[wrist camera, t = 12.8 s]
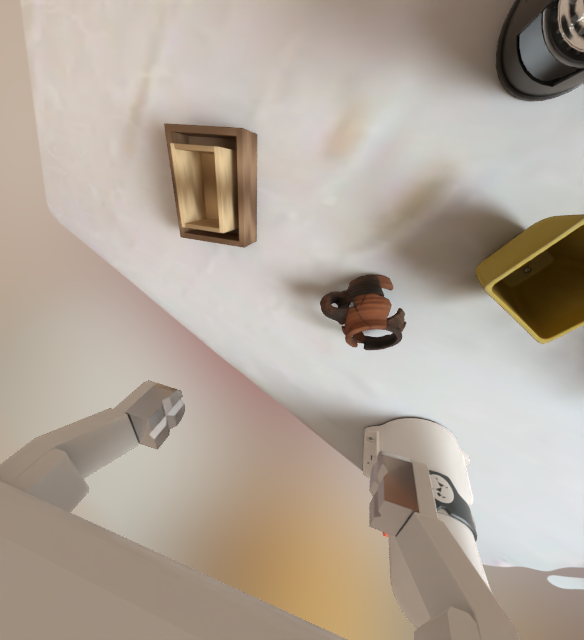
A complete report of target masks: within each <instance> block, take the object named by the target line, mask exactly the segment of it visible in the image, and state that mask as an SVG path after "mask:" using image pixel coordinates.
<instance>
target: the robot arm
mask: <svg viewBox="0 0 584 640" xmlns="http://www.w3.org/2000/svg"><path fill="white" fill-rule="evenodd" d="M182 397H183V395H182V392H181V390H177V389H174V388H171V387H168V386H164V385H162V384H159V383H156V382H152V381H149V380H148V381H146V382H144V383H143V384H141V385H140V386H139V387H138V388H137V389H136V390H135V391H133V392H132V393H131V394H130V395H129V396H128V397H127V398H126V399H124V400H123V401H122V402H121V403H120V404H119V405H117V406H116V407H115V408H114V409H111V408H109V409H107V410H104V411H102V412H99V413H97V414H94V415H92V416H89V417H87V418H84V419H82V420H79V421H77V422H74V423H72V424H69V425H67V426H64V427H62V428H59V429H57V430H54V431H52V432H49V433H47V434H44V435H41V436H39V437H36V438H34V439H33V440H32V441H31V442H29V443H28V444H26V445H25V446H24V447H23V448H21V449H20V450H19V451H17V452H16V453H15V454H14V455H12V456H11V457H9V458H8V459H7V460H6V461H4V462H3V463H2V464H0V640H347V639H345V638H342V637H340V636H338V635H336V634H334V633H332V632H329V631H327V630H325V629H323V628H321V627H319V626H316V625H314V624H312V623H310V622H308V621H305V620H303V619H301V618H299V617H297V616H294V615H292V614H290V613H288V612H286V611H284V610H281V609H279V608H277V607H275V606H273V605H271V604H268V603H266V602H264V601H262V600H260V599H258V598H255V597H253V596H251V595H249V594H246V593H244V592H242V591H240V590H238V589H236V588H234V587H231V586H229V585H227V584H225V583H223V582H220V581H218V580H216V579H214V578H212V577H209V576H207V575H205V574H203V573H201V572H198V571H196V570H194V569H192V568H190V567H188V566H185V565H183V564H181V563H179V562H177V561H175V560H172V559H170V558H168V557H166V556H164V555H162V554H159V553H157V552H155V551H153V550H151V549H148V548H146V547H144V546H142V545H140V544H138V543H135V542H133V541H131V540H129V539H127V538H124V537H122V536H120V535H118V534H116V533H113V532H111V531H109V530H107V529H105V528H103V527H101V526H98V525H96V524H94V523H92V522H90V521H87V520H85V519H83V518H81V517H79V516H77V515H74V514H72V513H70V512H71V511H72V510H73V509H74V508H75V507H76V506H77V504H78V503H79V502H80V501H81V500H82V499H83V498H84V497H85V496H86V494H87V493H88V492H89V487H88V485H87V484H86V482H85V481H84V478H86V477H87V476H89V475H90V474H92V473H94V472H95V471H97V470H99V469H100V468H102V467H104V466H105V465H107V464H108V463H110V462H112V461H113V460H115V459H117V458H118V457H120V456H122V455H123V454H125V453H126V452H128V451H130V450H132V449H133V448H135V447H136V446H138V445H139V444H142V445H146V446H148V447H151V448H155V449H158V448H159V447H160V446H161V445H162V443H163V442H164V441H165V440H166V438H167V437H168V436H169V432H170V429H171V428H173V427H175V426H177V425H178V423H179V422H180V421H181V419H182V417H183V415H184V412H185V405H184V403H183V402H182V400H181V398H182ZM469 465H470V458H469V456H468V455H467V454H466V453H465V452H464V451H463V450H462V449H461V448H460V447H459V444H458V441H457V439H456V438H455V436H454V435H453V434H452V433H451V432H450V431H449V430H448V429H446V428H445V427H443V426H441V425H439V424H437V423H434V422H432V421H428V420H424V419H417V418H403V419H397V420H393V421H390V422H388V423H385V424H383V425H380V426H372V427H367V428H366V429H365V431H364V452H363V474H364V475H365V476H366V477H367V478H369V479H370V492H371V494H372V496H373V498H372V500H371V502H370V527H372V528H374V529H377V530H380V531H382V532H383V535H384V536H386V537H389V556H390V557H389V558H390V578H391V586H392V589H393V593H394V596H395V598H396V600H397V603H398V605H399V606H400V608H401V610H402V612H403V613H404V614H405V616H406V617H407V618H408V620H409V621H410V622H411V623H412V624H413V625H414V626H415V627H416V628H417V629H416V630H415V632H414V640H520V637H519V634H518V631H517V629H516V628H515V627H514V625H513V624H512V622H511V621H510V619H509V618H508V616H507V615H506V613H505V612H504V610H503V609H502V607H501V606H500V605H499V603H498V601H497V600H496V599H495V597H494V596H493V594H492V592H491V590H490V586H489V583H488V580H487V578H486V575H485V572H484V569H483V565H482V562H481V559H480V556H479V552H478V549H477V546H476V540H477V534H476V530H475V522H474V519H473V517H472V515H471V511H470V508H469V506H470V505H471V504H472V503H473V496H472V491H471V487H470V482H469V478H468V474H467V470H466V467H467V466H469Z"/></svg>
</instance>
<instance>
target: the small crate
mask: <svg viewBox="0 0 584 640" xmlns="http://www.w3.org/2000/svg"><path fill="white" fill-rule="evenodd" d="M170 145H171V153H172V160H173V167H174V174H175V181H176V188H177V195H178V202H179V209H180V216H181V223H182V227H185V228H192V229H198V230H205V231H212V232H218V233H226V232H228V231H231V230H234V229H237V228H239V211H238V174H237V151H235V150H231V149H226V148H222V147H216V146H203V145H189V144H176V143H170Z"/></svg>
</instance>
